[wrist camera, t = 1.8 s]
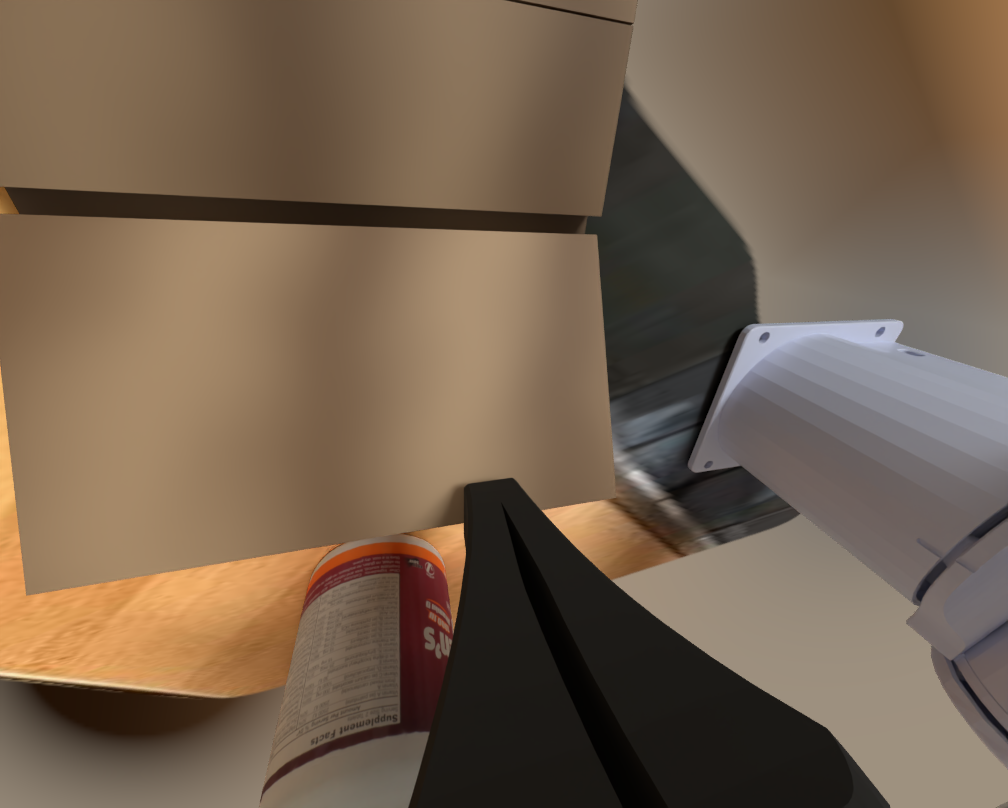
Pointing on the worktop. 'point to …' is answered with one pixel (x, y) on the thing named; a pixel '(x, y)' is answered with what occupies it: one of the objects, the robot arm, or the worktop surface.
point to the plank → (286, 385)
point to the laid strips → (314, 110)
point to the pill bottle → (362, 678)
